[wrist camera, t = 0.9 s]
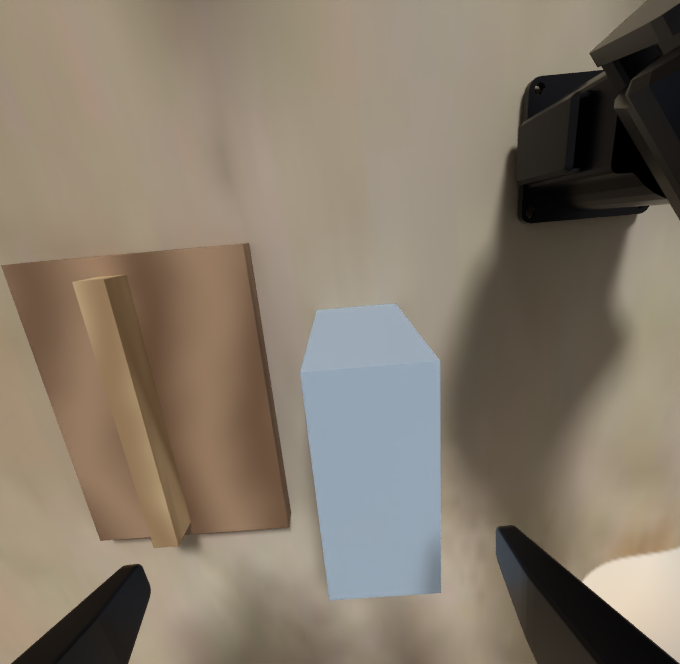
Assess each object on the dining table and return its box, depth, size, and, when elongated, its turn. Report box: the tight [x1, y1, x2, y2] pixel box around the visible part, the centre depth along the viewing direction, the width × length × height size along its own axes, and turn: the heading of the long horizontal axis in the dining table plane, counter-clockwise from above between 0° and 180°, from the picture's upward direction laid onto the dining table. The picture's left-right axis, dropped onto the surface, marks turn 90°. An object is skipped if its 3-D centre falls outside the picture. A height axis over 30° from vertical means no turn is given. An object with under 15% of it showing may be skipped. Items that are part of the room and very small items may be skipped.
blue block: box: [300, 303, 441, 600], centre depth 17 cm, size 4×10×9 cm, turn 5°
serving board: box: [1, 243, 291, 548], centre depth 20 cm, size 12×18×3 cm
